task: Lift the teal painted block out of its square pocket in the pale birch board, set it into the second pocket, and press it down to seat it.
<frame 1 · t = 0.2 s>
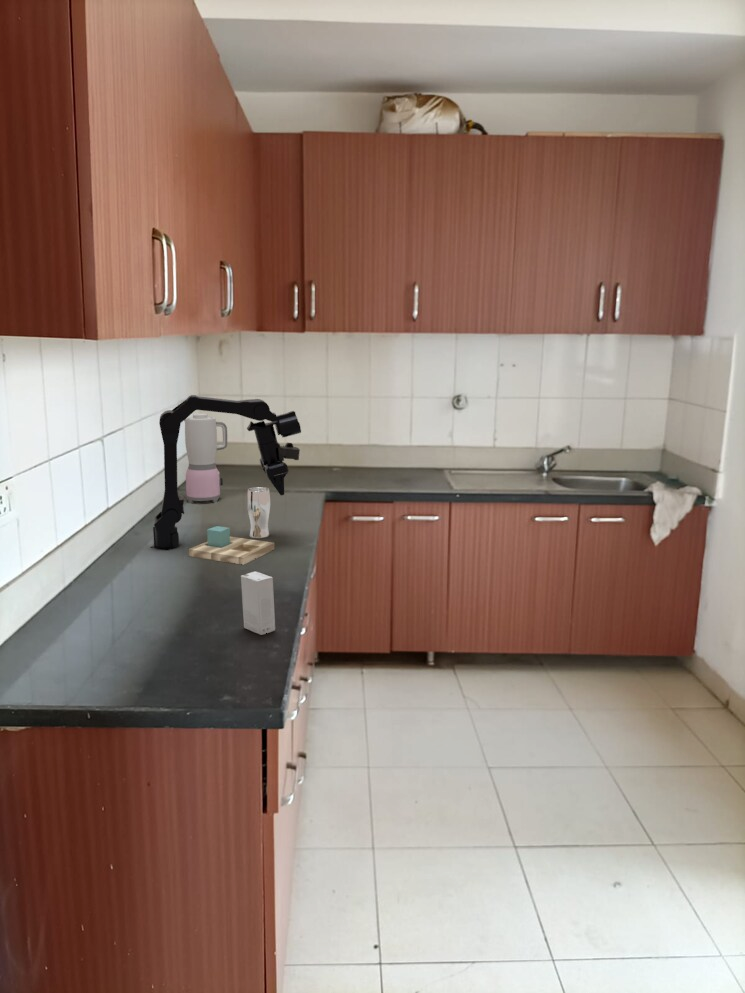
hand: (280, 491, 224), 15 cm above the table, tool pointing down, fingers open, 9 cm apart
teal block: (219, 550, 215), resting on pocket board
skincare box: (258, 630, 161), on the table
blender: (207, 500, 279), on the table
beer glass: (259, 537, 232), on the table
pocket board: (232, 554, 214), on the table
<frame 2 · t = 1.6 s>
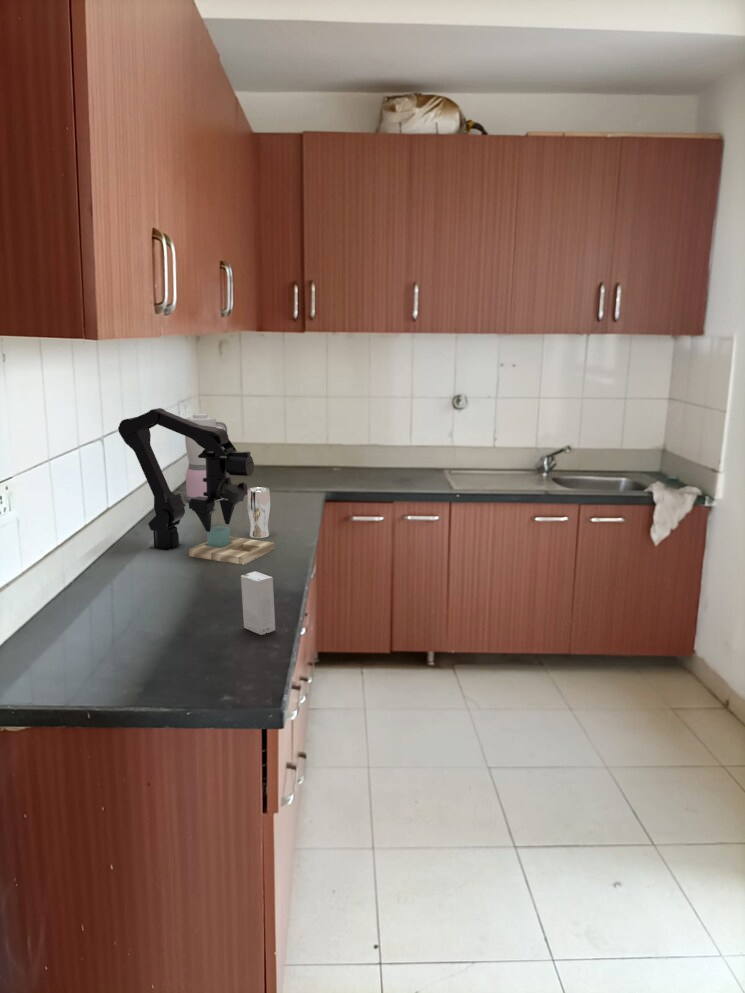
hand: (218, 527, 214), 7 cm above the table, tool pointing down, fingers open, 9 cm apart
nothing on the table moved.
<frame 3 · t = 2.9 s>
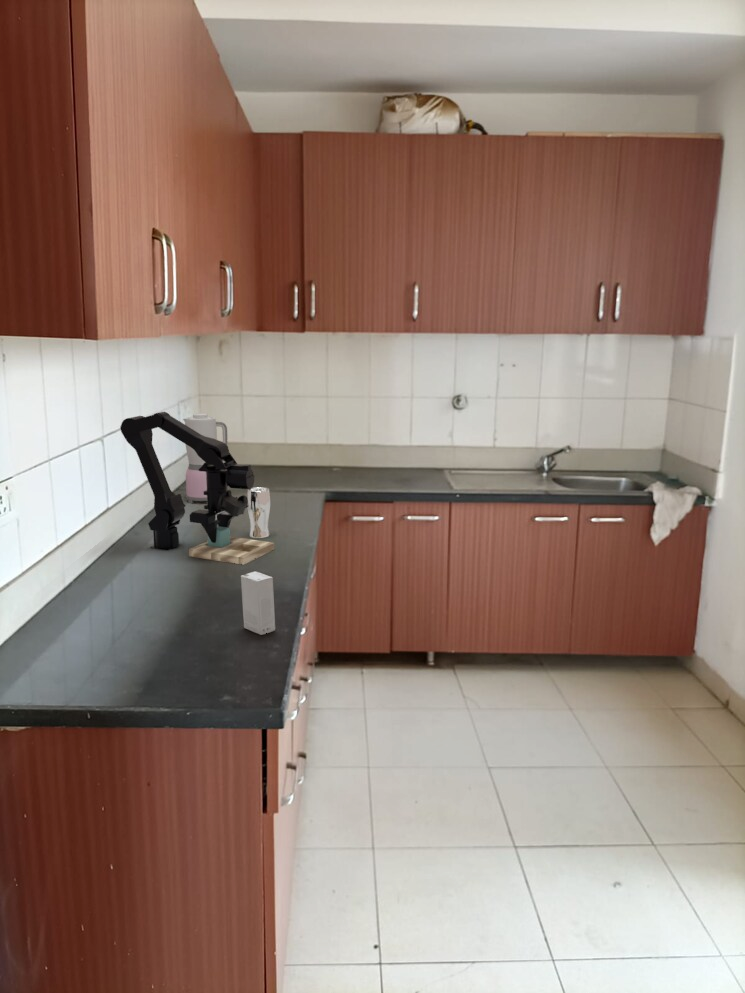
hand: (218, 540, 215), 4 cm above the table, tool pointing down, fingers closed on teal block, 4 cm apart
teal block: (219, 550, 215), resting on pocket board, touching gripper
everything else where it was.
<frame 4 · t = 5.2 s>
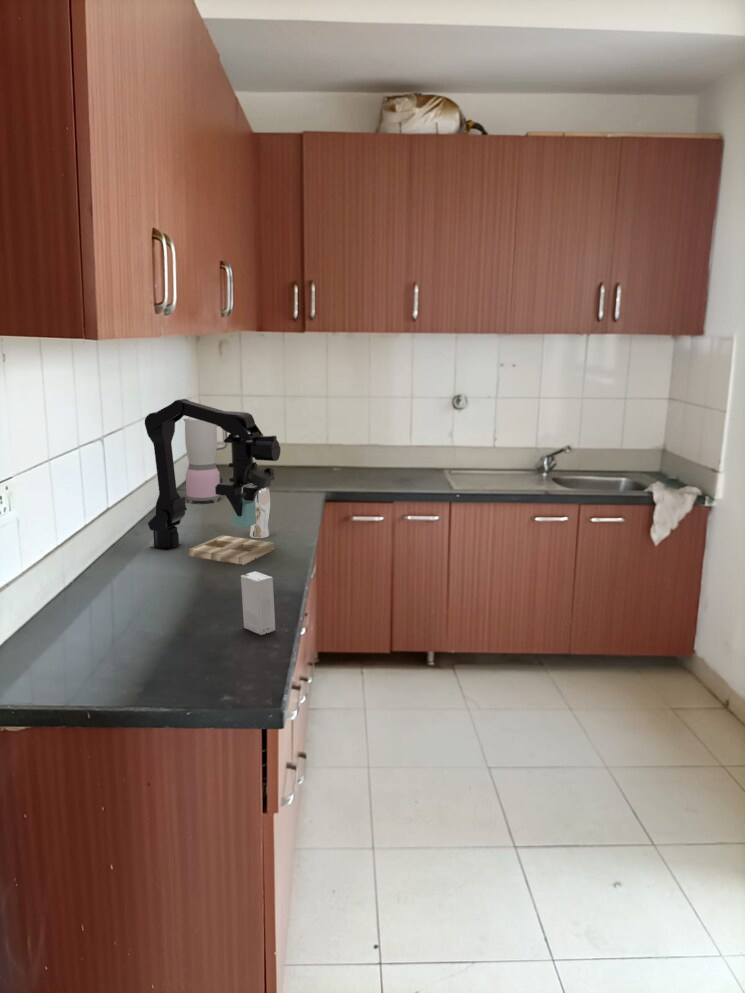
hand: (244, 514, 209), 12 cm above the table, tool pointing down, fingers closed on teal block, 4 cm apart
teal block: (244, 524, 210), point 9 cm above the table, touching gripper
everything else where it was.
when the fingers open (4 cm above the table, at t = 7.3 s): teal block stays where it is, resting on pocket board.
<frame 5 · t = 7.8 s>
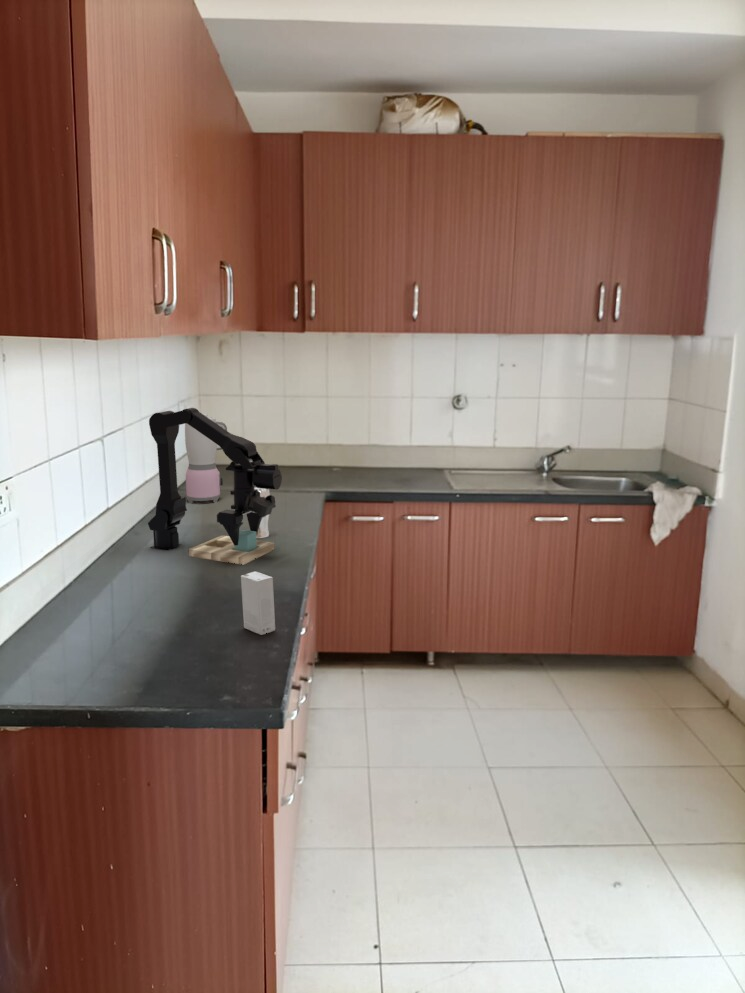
hand: (245, 541, 211), 4 cm above the table, tool pointing down, fingers open, 9 cm apart
teal block: (245, 554, 212), resting on pocket board
everything else where it was.
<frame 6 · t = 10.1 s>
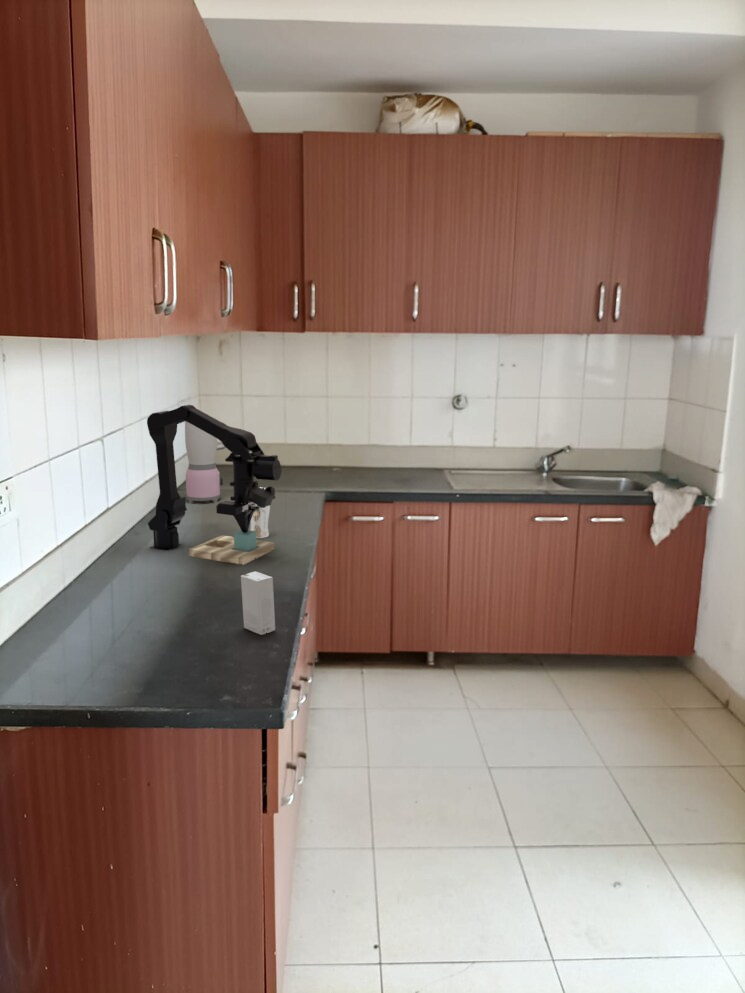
hand: (245, 532, 210), 7 cm above the table, tool pointing down, fingers closed, pressing on teal block
teal block: (245, 554, 212), resting on pocket board, touching gripper
everything else where it was.
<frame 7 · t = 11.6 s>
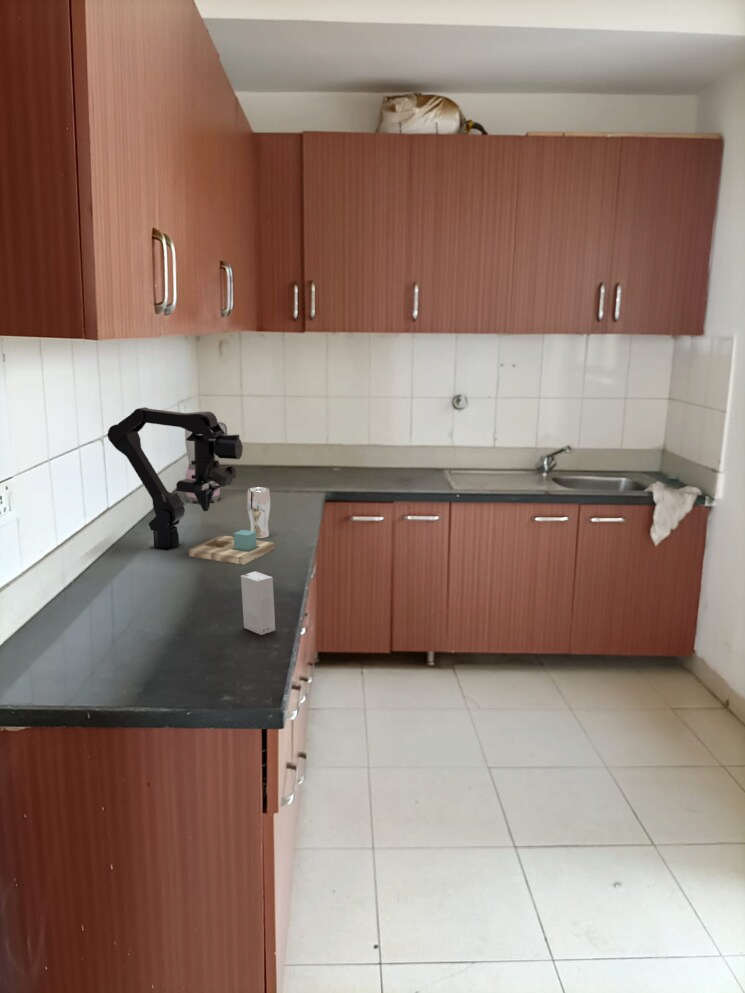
hand: (205, 510, 214), 12 cm above the table, tool pointing down, fingers closed
teal block: (245, 554, 212), resting on pocket board
everything else where it was.
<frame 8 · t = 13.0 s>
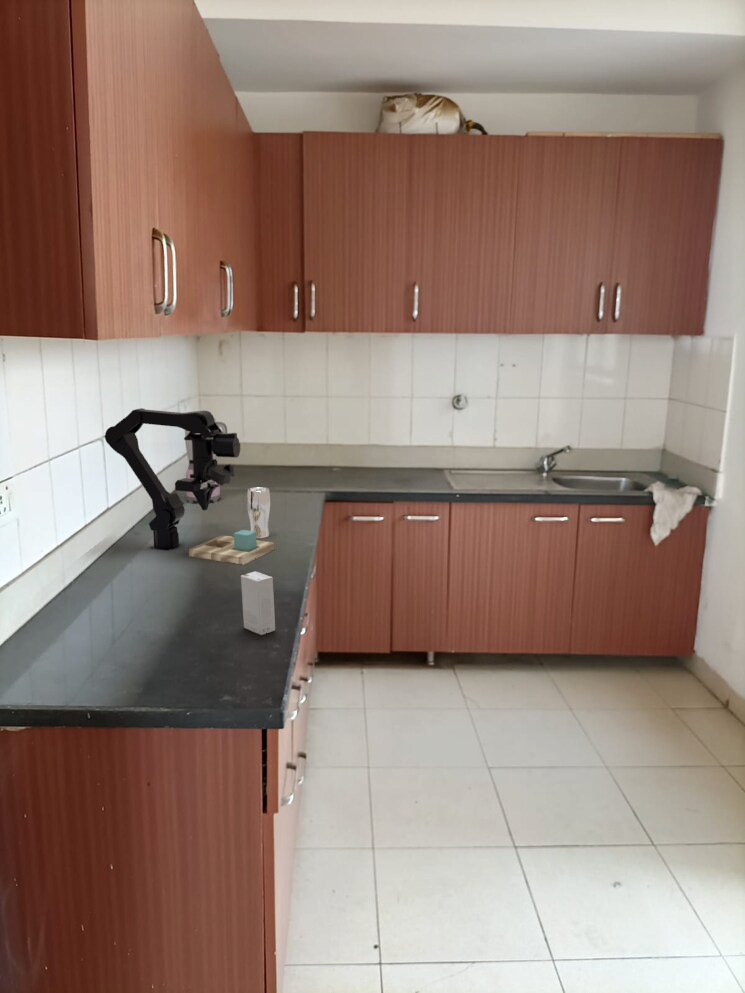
hand: (204, 510, 214), 12 cm above the table, tool pointing down, fingers closed
nothing on the table moved.
at the end: teal block 0.0 cm from the target spot on the pocket board, point 0.5 cm above the pocket board's base; teal block tilted 0°; the gripper is holding nothing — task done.
